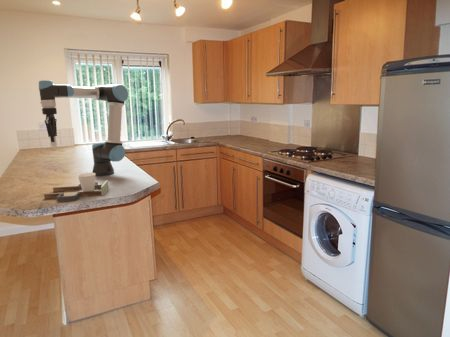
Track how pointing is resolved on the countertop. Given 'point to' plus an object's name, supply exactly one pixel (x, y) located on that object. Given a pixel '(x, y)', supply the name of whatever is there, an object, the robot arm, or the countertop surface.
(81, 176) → the cup
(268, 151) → the countertop surface
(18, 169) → the countertop surface
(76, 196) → the trap bays
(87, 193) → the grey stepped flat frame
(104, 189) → the stop block
